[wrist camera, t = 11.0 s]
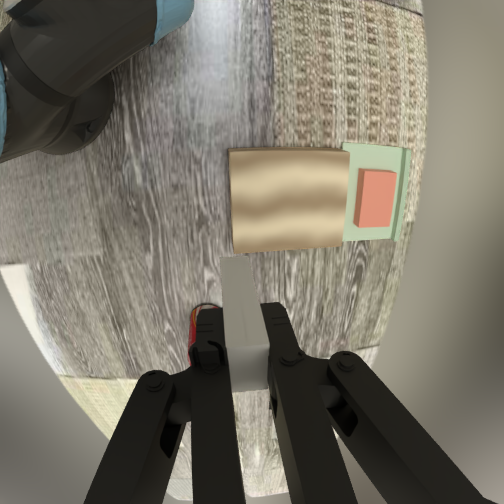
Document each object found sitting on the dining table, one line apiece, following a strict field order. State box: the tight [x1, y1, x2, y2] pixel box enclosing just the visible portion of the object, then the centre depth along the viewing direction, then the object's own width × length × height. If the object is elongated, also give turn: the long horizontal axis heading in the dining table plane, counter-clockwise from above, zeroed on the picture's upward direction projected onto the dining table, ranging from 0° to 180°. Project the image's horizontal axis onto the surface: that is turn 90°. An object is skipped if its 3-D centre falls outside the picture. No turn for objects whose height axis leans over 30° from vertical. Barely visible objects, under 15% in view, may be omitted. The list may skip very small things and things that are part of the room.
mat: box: [342, 142, 411, 241], centre depth 42 cm, size 16×12×2 cm
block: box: [353, 168, 397, 228], centre depth 42 cm, size 9×6×2 cm, turn 0°
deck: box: [228, 147, 350, 254], centre depth 40 cm, size 14×16×4 cm
